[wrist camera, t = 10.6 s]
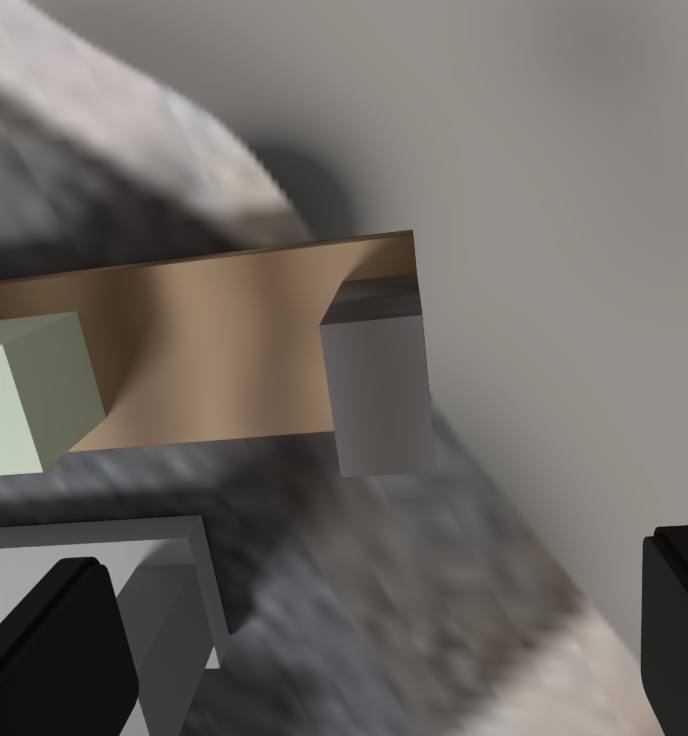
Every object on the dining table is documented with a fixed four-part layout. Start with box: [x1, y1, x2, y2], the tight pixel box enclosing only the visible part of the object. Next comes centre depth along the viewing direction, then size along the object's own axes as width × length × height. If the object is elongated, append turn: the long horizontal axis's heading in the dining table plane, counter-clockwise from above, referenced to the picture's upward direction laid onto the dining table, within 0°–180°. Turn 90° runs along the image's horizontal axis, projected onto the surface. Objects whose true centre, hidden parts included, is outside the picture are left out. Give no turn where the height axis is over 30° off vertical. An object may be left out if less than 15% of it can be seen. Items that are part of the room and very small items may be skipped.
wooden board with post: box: [0, 230, 436, 478], centre depth 23 cm, size 24×8×9 cm, turn 97°
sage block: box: [0, 311, 106, 475], centre depth 24 cm, size 5×5×5 cm
